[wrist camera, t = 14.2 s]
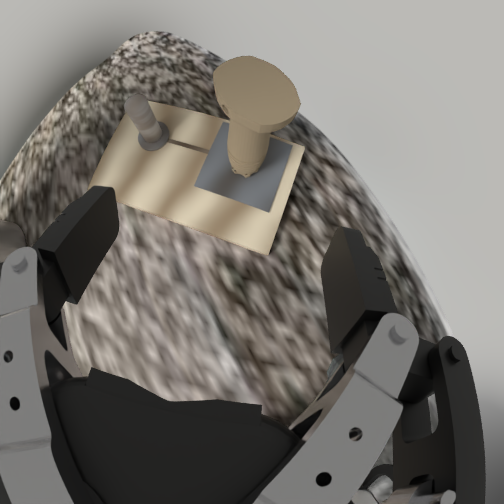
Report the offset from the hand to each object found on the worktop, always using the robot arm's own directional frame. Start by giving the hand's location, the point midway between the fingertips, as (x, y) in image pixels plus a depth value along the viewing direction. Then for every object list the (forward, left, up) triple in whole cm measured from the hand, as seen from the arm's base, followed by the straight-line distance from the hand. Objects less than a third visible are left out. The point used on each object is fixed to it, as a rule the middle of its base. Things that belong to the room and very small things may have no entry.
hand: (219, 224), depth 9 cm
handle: (-2, +10, -21) cm, 23 cm away
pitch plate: (-8, +8, -22) cm, 25 cm away
